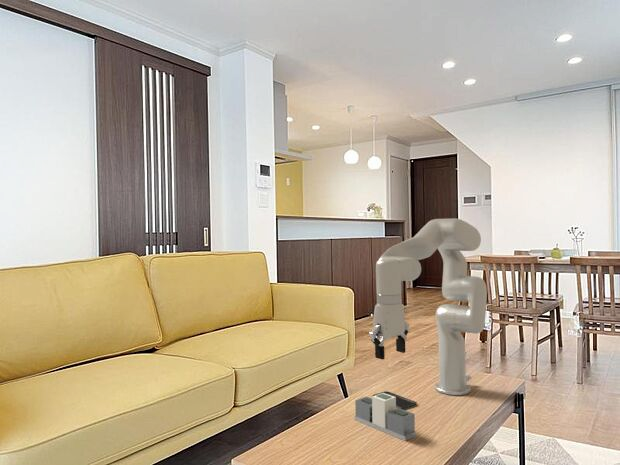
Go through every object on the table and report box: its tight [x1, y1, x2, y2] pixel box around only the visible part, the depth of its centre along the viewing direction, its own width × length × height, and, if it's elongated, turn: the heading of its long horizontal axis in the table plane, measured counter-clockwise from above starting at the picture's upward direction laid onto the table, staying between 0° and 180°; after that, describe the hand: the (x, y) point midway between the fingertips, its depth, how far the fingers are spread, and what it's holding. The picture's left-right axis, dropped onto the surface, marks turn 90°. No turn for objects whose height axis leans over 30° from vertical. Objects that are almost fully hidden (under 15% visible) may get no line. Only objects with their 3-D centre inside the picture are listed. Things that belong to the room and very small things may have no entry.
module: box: [371, 392, 397, 428], centre depth 140 cm, size 5×5×8 cm
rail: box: [354, 396, 417, 442], centre depth 140 cm, size 5×20×6 cm, turn 40°
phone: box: [372, 391, 418, 411], centre depth 161 cm, size 8×1×15 cm
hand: (390, 355), depth 142 cm, fingers open, 9 cm apart
